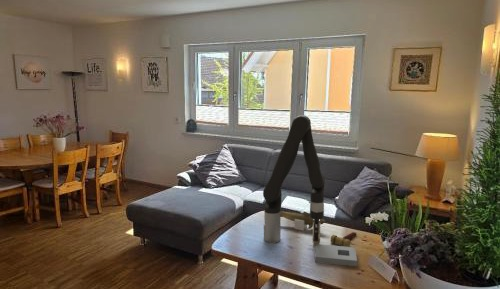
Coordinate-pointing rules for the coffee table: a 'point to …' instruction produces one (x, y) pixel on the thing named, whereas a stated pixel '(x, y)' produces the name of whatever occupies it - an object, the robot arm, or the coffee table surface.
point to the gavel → (343, 239)
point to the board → (335, 255)
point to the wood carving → (300, 219)
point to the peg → (318, 238)
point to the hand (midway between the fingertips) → (316, 237)
